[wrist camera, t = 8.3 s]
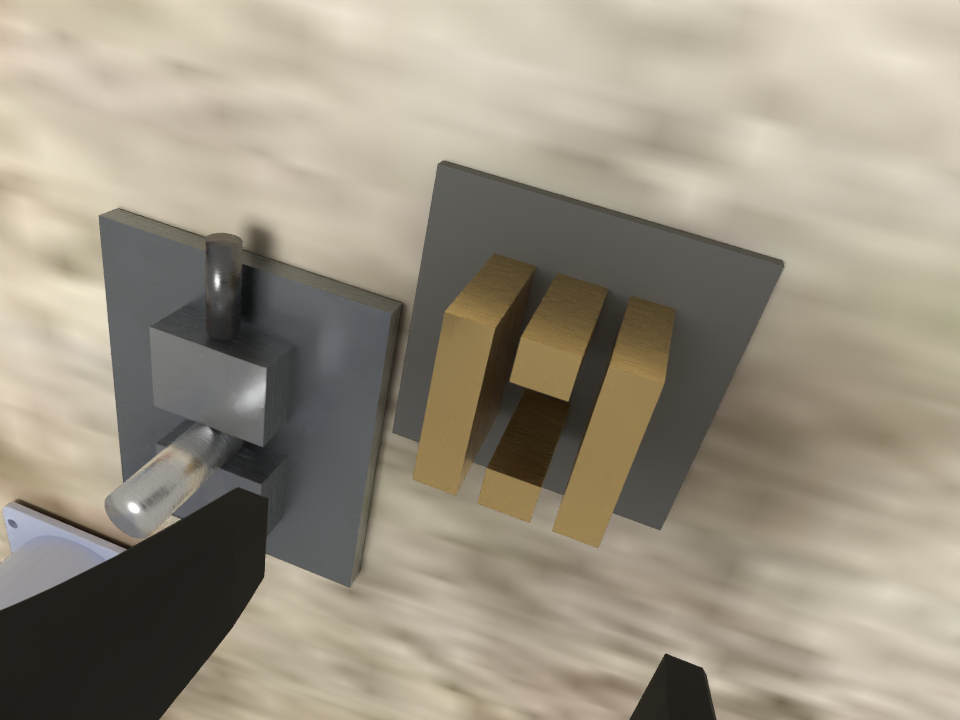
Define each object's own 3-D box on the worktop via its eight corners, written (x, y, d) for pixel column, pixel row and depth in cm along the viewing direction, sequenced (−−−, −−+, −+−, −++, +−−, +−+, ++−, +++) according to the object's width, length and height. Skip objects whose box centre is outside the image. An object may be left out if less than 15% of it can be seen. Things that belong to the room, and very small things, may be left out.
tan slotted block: (618, 456, 21) (598, 547, 17) (461, 401, 22) (412, 479, 18) (675, 309, 18) (664, 383, 15) (494, 253, 19) (444, 311, 16)
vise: (359, 572, 27) (276, 707, 22) (138, 484, 29) (13, 590, 24) (406, 273, 20) (303, 368, 15) (114, 178, 22) (-67, 236, 17)
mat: (661, 521, 22) (660, 530, 22) (397, 425, 23) (392, 432, 23) (782, 260, 17) (784, 266, 17) (443, 160, 19) (437, 163, 18)
